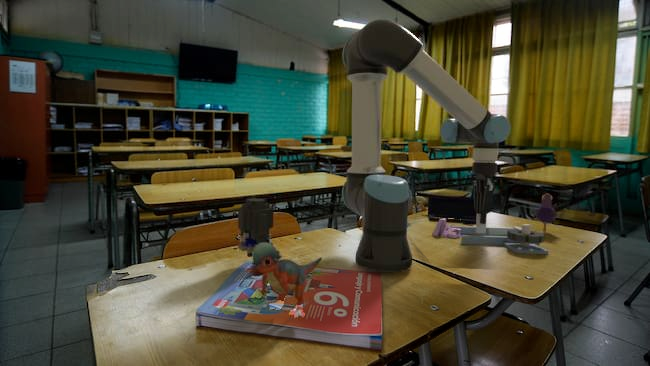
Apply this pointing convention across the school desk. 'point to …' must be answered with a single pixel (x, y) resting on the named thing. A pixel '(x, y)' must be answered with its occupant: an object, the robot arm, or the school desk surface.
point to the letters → (446, 230)
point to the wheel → (526, 236)
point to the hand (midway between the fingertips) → (480, 232)
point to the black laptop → (452, 209)
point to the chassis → (501, 239)
